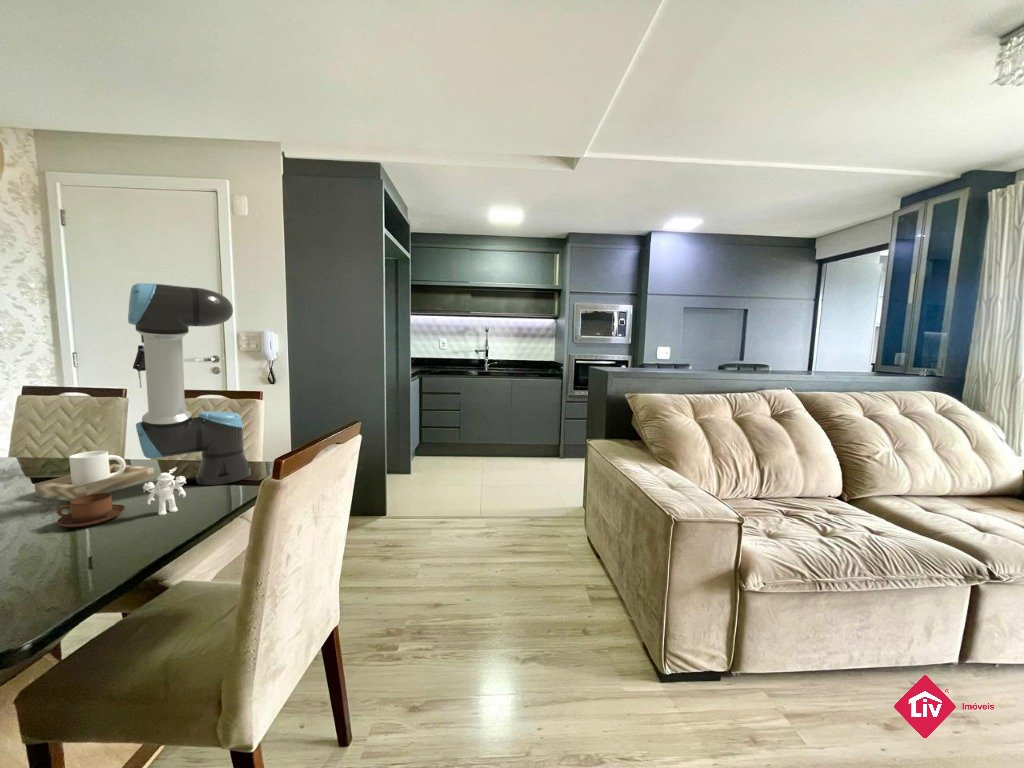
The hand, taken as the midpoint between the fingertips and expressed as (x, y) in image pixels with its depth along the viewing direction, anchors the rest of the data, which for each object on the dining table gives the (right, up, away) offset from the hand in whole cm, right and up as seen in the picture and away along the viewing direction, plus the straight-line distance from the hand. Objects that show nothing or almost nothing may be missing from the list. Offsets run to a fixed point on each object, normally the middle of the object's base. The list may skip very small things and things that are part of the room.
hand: (158, 388), depth 149 cm
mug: (+5, -31, -26) cm, 40 cm away
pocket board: (+4, -32, -25) cm, 41 cm away
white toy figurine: (+41, -34, -42) cm, 68 cm away
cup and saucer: (+27, -35, -48) cm, 65 cm away
